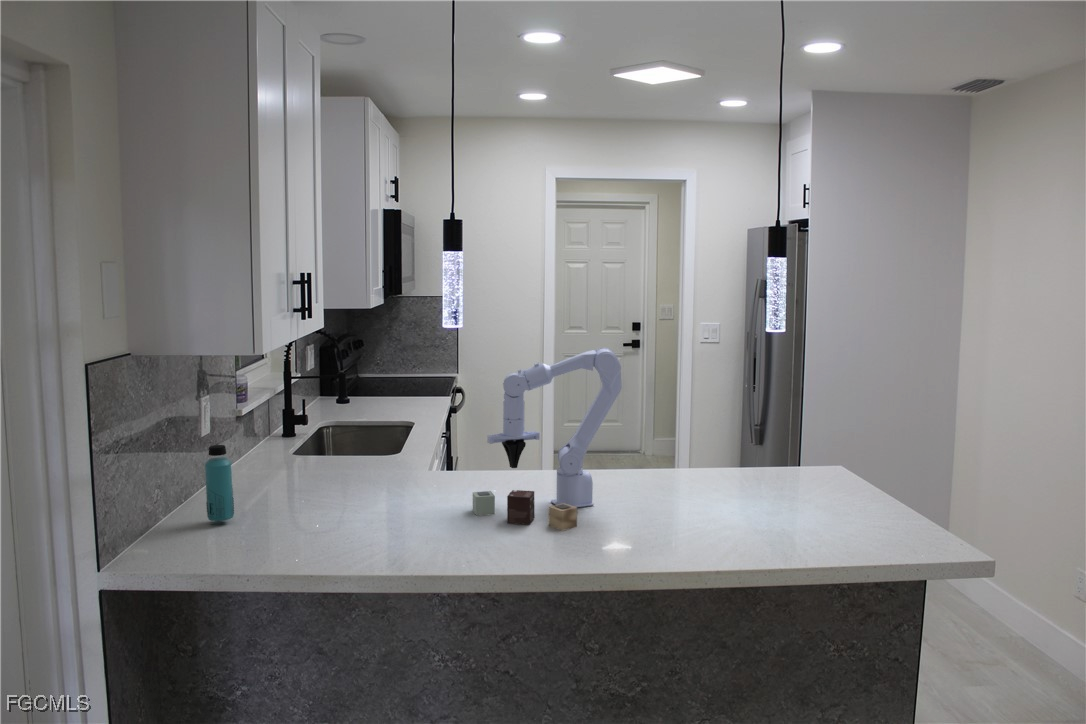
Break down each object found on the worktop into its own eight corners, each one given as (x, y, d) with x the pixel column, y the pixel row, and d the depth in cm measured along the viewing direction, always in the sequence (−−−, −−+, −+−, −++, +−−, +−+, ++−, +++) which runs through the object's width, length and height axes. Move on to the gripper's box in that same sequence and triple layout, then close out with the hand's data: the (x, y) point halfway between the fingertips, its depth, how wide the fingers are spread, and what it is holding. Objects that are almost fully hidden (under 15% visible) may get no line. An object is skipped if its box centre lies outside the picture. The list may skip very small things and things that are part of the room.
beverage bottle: (240, 520, 218) (237, 443, 215) (222, 528, 212) (219, 449, 209) (219, 518, 220) (215, 441, 217) (201, 525, 214) (197, 447, 211)
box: (529, 525, 216) (530, 497, 215) (506, 524, 217) (506, 495, 216) (534, 518, 222) (535, 490, 221) (512, 516, 223) (512, 489, 222)
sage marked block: (491, 509, 230) (491, 490, 229) (494, 514, 225) (494, 495, 224) (472, 510, 228) (472, 491, 228) (476, 515, 223) (475, 496, 223)
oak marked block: (563, 522, 219) (563, 502, 218) (576, 526, 215) (577, 506, 214) (548, 525, 216) (548, 505, 215) (561, 530, 212) (562, 510, 211)
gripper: (532, 413, 237) (531, 461, 239) (483, 417, 231) (483, 466, 233) (543, 418, 231) (542, 467, 232) (493, 422, 225) (492, 472, 226)
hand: (513, 467), depth 232 cm, fingers closed
